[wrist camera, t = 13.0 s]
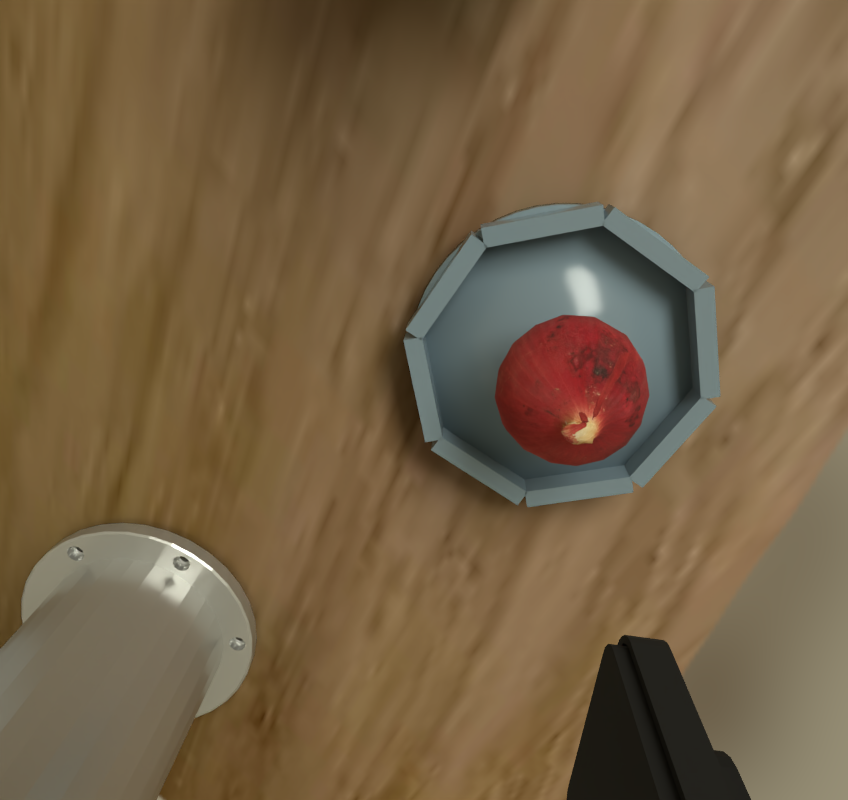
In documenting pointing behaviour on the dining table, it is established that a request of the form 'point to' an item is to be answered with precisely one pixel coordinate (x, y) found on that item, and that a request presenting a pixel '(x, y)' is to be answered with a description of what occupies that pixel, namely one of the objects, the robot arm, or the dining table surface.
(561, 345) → the onion
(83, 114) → the dining table surface
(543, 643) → the dining table surface
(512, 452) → the dish
